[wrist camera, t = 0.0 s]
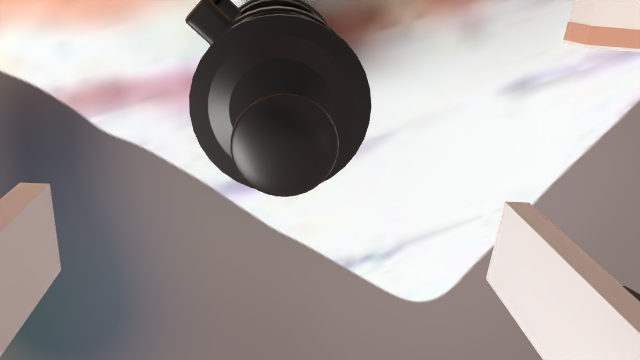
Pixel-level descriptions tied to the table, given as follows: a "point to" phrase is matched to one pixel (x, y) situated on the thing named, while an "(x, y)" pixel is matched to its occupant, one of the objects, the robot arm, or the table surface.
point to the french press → (276, 95)
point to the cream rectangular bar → (605, 25)
